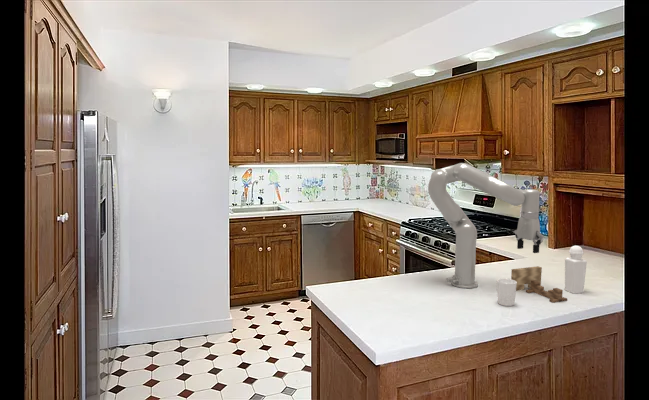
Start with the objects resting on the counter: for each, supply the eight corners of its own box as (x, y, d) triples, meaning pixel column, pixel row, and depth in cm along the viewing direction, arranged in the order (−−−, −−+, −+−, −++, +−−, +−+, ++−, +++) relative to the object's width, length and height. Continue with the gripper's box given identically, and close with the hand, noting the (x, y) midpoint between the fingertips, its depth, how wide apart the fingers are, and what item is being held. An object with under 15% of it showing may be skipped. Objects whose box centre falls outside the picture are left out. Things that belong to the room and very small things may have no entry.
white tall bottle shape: (585, 293, 204) (588, 246, 202) (572, 294, 203) (575, 247, 201) (575, 288, 210) (577, 243, 208) (562, 289, 209) (565, 244, 207)
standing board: (567, 300, 194) (567, 289, 193) (553, 302, 191) (553, 291, 191) (538, 290, 209) (539, 279, 208) (525, 291, 206) (525, 281, 206)
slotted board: (514, 290, 208) (514, 270, 207) (510, 289, 210) (511, 269, 209) (540, 287, 213) (541, 267, 212) (537, 286, 215) (538, 266, 214)
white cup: (495, 299, 195) (496, 278, 194) (514, 301, 193) (515, 279, 192) (497, 305, 188) (497, 283, 187) (516, 307, 186) (517, 284, 185)
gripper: (509, 213, 215) (508, 247, 217) (537, 218, 199) (536, 255, 201) (522, 212, 218) (520, 246, 219) (550, 217, 201) (548, 254, 203)
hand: (527, 250), depth 210 cm, fingers open, 9 cm apart
